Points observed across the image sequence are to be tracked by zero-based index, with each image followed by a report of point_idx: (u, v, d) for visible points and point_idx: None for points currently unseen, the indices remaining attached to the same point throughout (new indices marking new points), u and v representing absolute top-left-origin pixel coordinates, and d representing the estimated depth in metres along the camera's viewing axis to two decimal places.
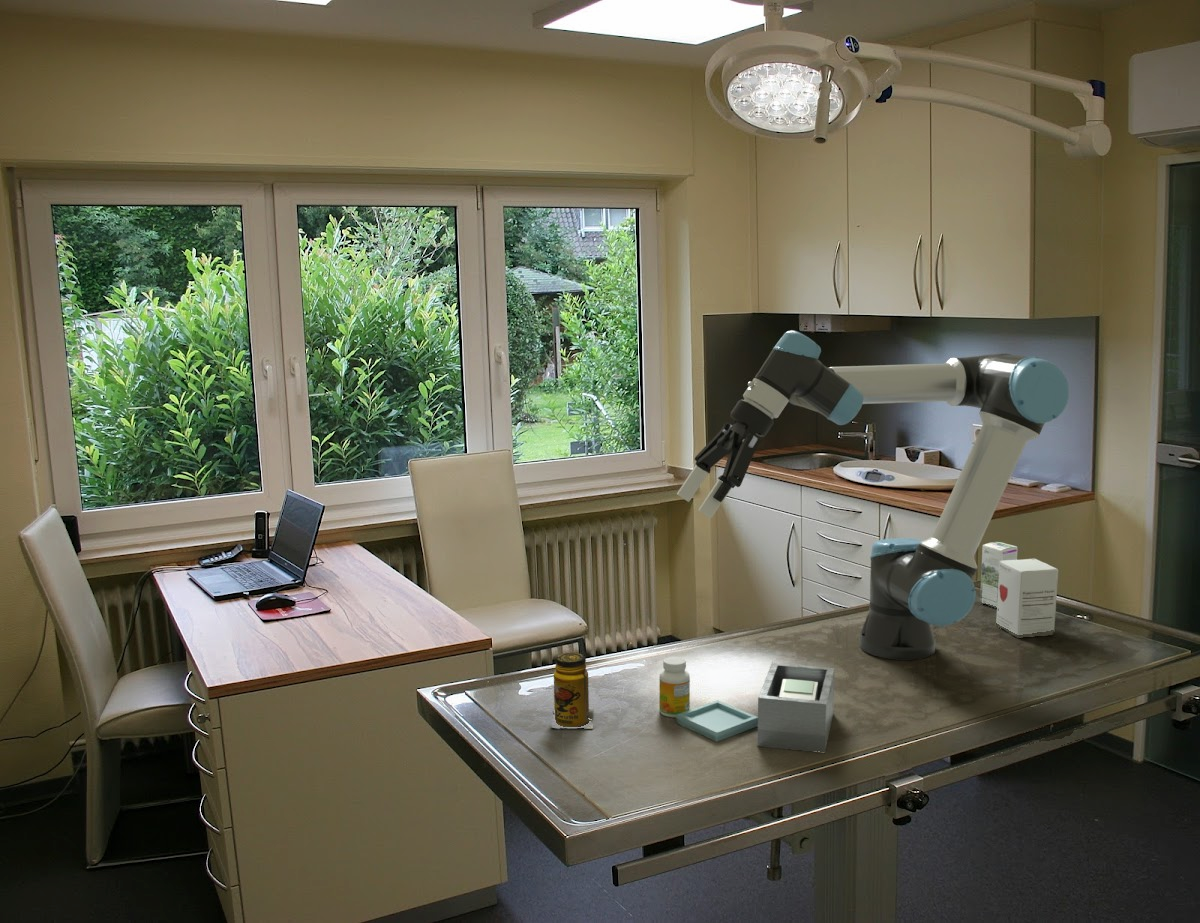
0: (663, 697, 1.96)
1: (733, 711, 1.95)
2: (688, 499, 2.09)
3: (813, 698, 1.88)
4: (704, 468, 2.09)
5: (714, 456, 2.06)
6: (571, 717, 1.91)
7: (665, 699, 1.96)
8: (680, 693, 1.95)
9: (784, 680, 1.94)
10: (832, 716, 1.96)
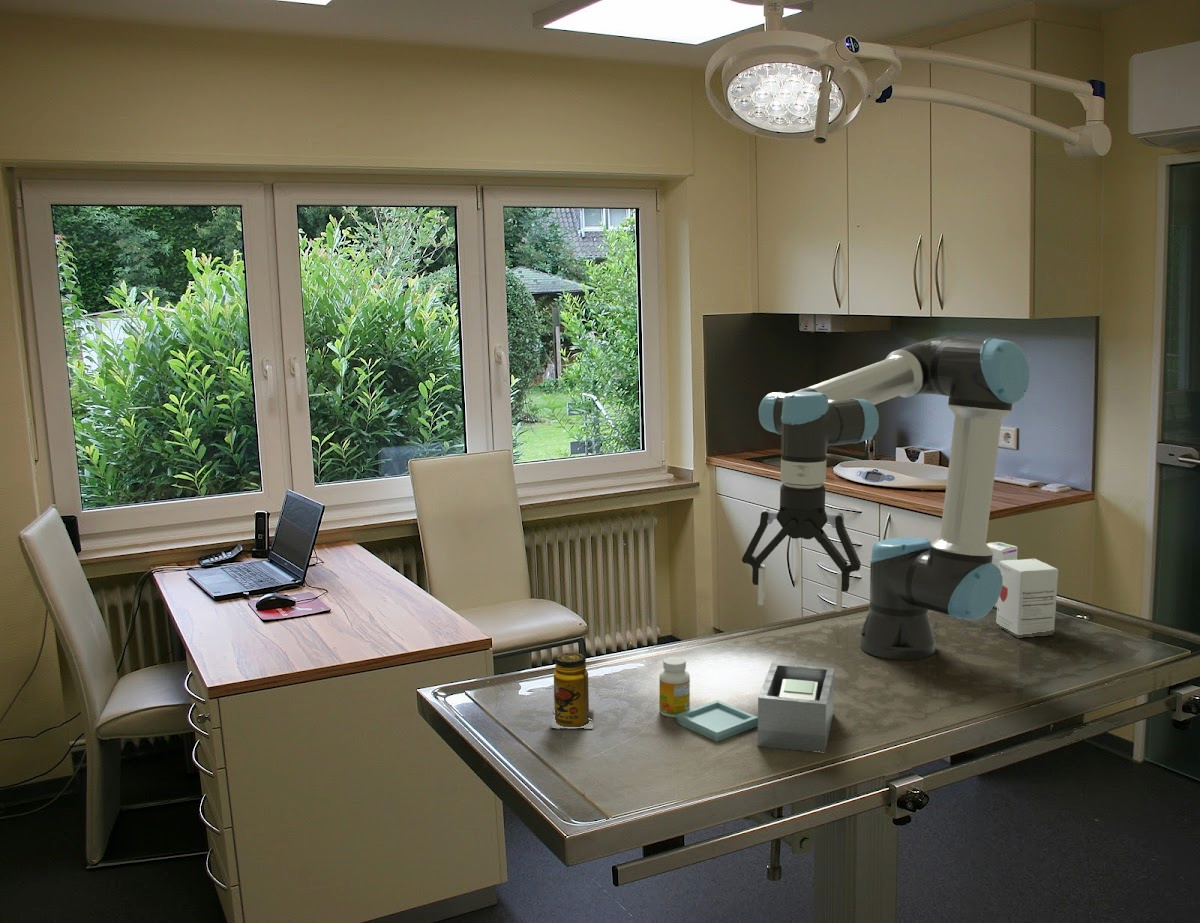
0: (663, 697, 1.96)
1: (733, 711, 1.95)
2: (764, 599, 1.93)
3: (813, 698, 1.88)
4: (760, 563, 1.92)
5: None
6: (571, 717, 1.91)
7: (665, 699, 1.96)
8: (680, 693, 1.95)
9: (784, 680, 1.94)
10: (832, 716, 1.96)
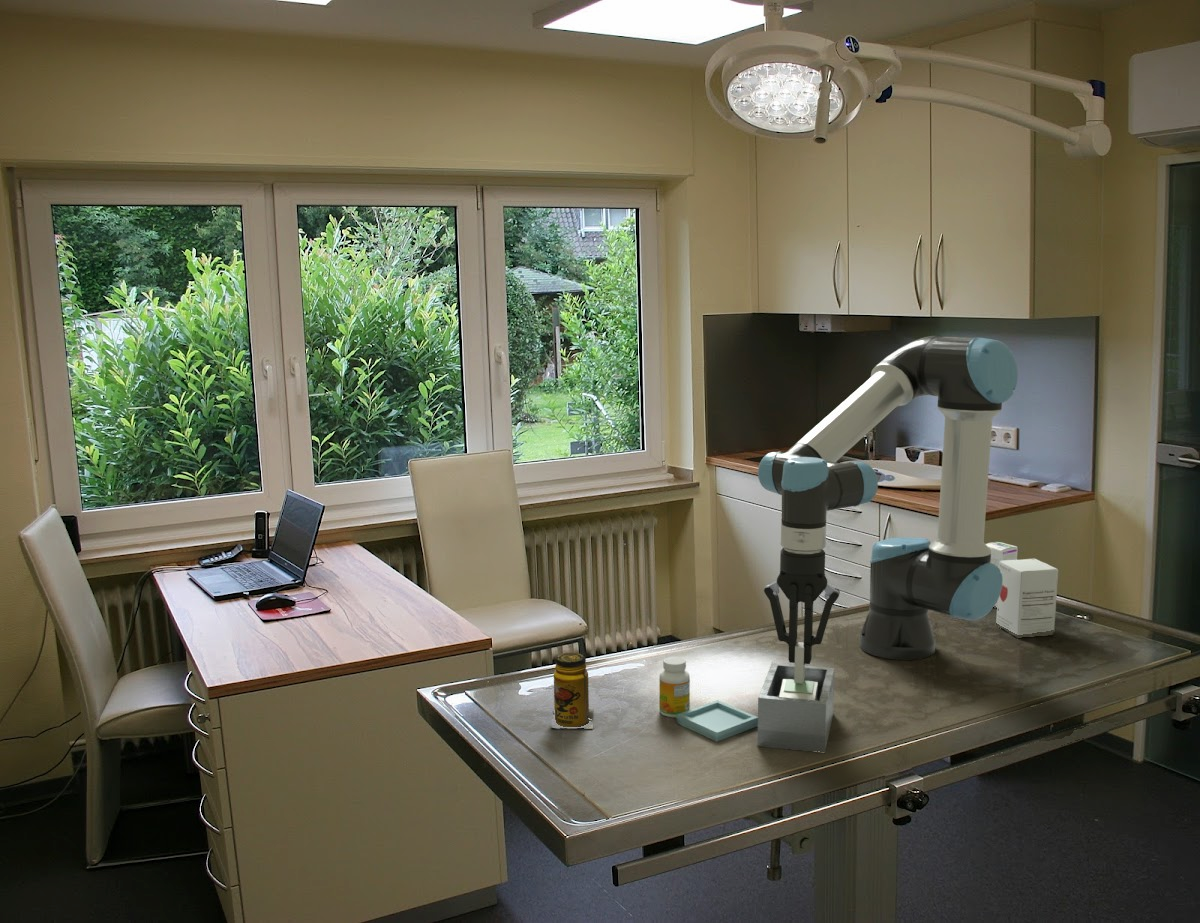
0: (663, 697, 1.96)
1: (733, 711, 1.95)
2: None
3: (813, 698, 1.88)
4: (796, 638, 1.92)
5: (796, 618, 1.91)
6: (571, 717, 1.91)
7: (665, 699, 1.96)
8: (680, 693, 1.95)
9: (784, 680, 1.94)
10: (832, 716, 1.96)
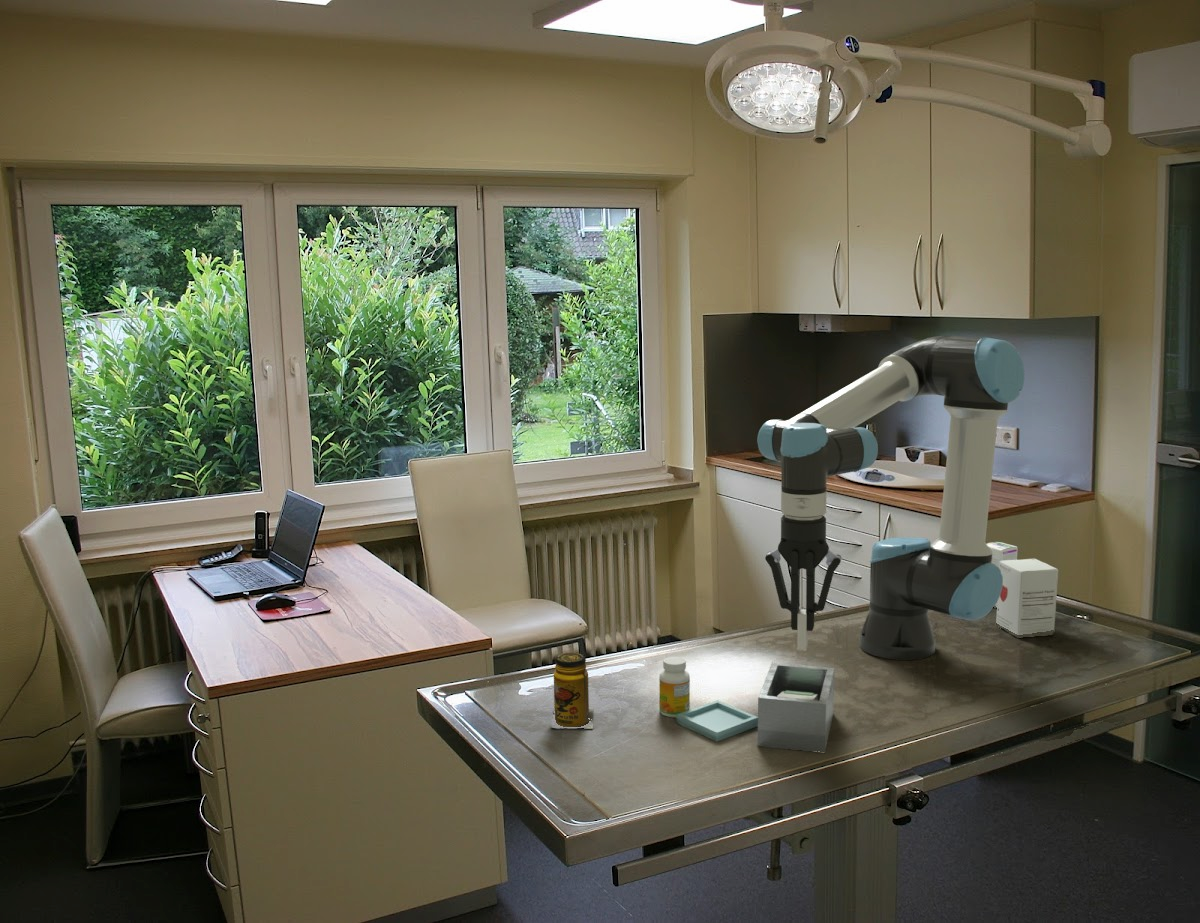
0: (663, 697, 1.96)
1: (733, 711, 1.95)
2: None
3: (813, 697, 1.89)
4: (799, 605, 1.91)
5: (798, 585, 1.90)
6: (571, 717, 1.91)
7: (665, 699, 1.96)
8: (680, 693, 1.95)
9: (784, 691, 1.95)
10: (832, 716, 1.96)
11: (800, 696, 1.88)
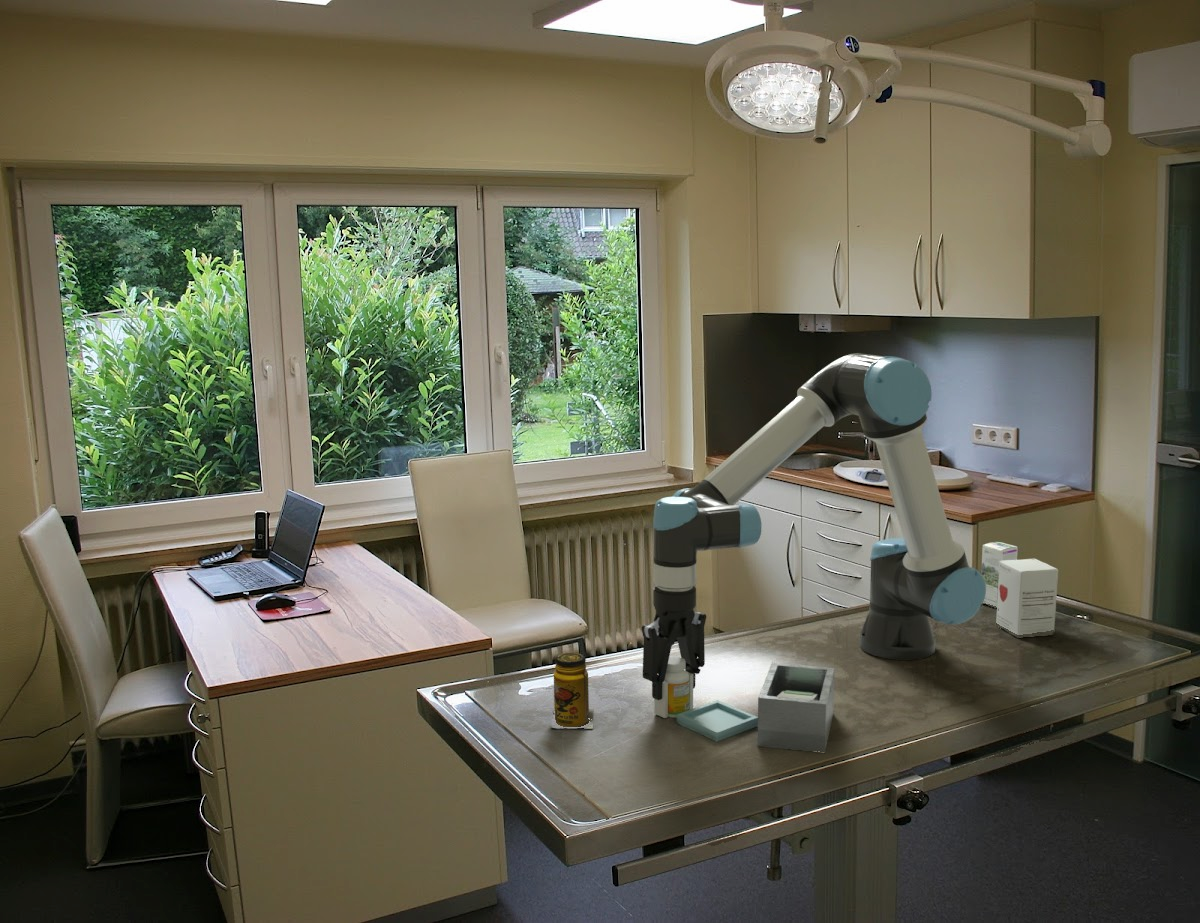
0: None
1: (733, 711, 1.95)
2: None
3: (813, 697, 1.89)
4: (689, 669, 1.99)
5: (683, 650, 1.98)
6: (571, 717, 1.91)
7: None
8: (680, 693, 1.95)
9: (784, 691, 1.95)
10: (832, 716, 1.96)
11: (800, 696, 1.88)
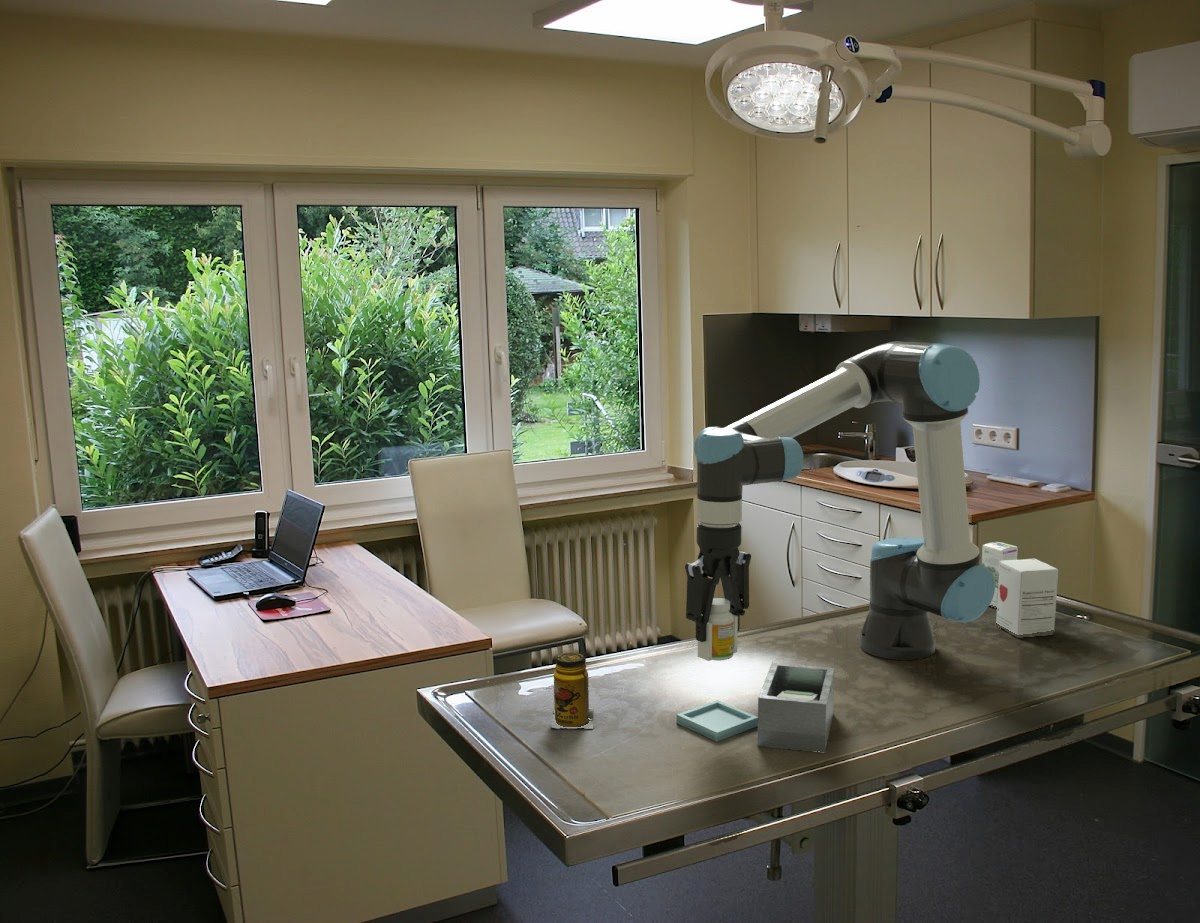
0: None
1: (733, 711, 1.95)
2: None
3: (813, 697, 1.89)
4: (733, 611, 1.91)
5: (727, 590, 1.90)
6: (571, 717, 1.91)
7: None
8: (725, 634, 1.87)
9: (784, 691, 1.95)
10: (832, 716, 1.96)
11: (800, 696, 1.88)
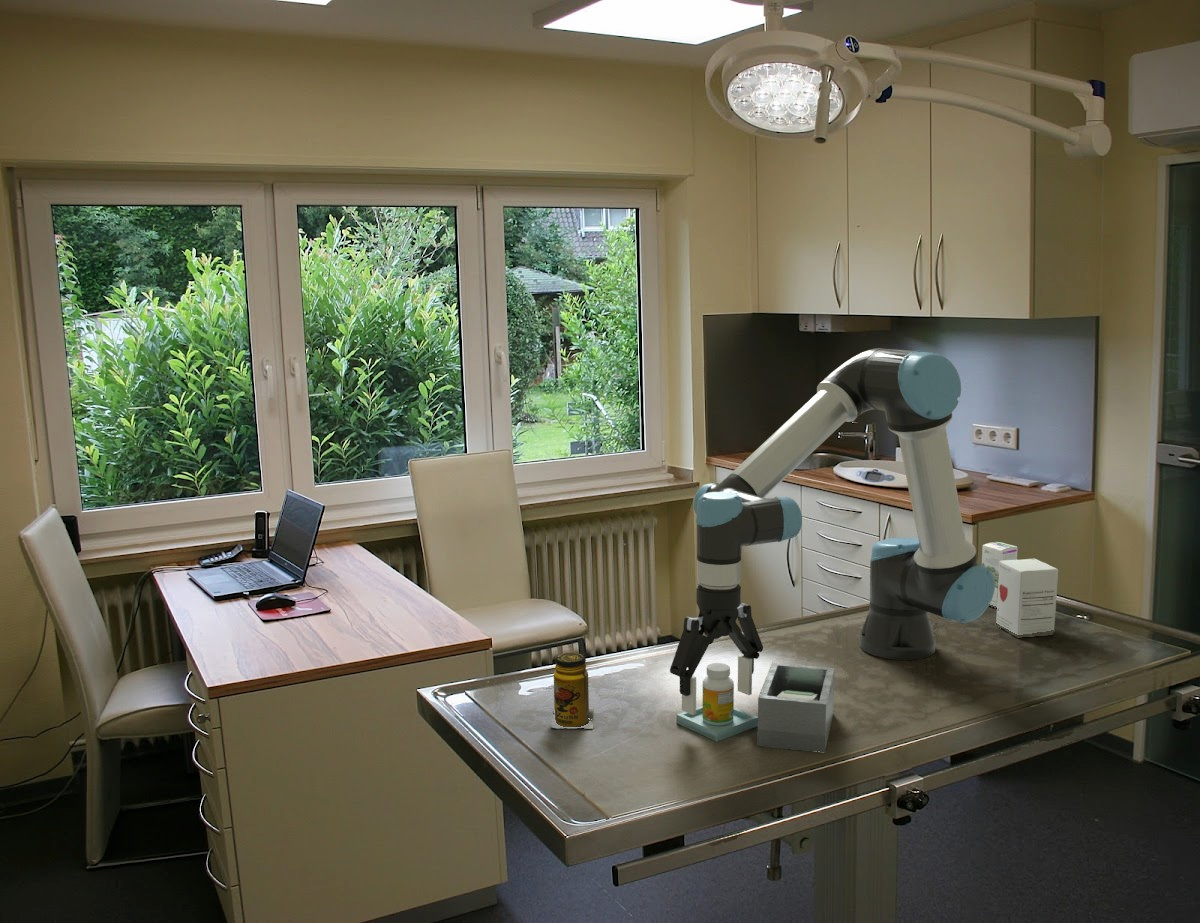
0: (707, 705, 1.90)
1: None
2: (747, 692, 1.95)
3: (813, 697, 1.89)
4: (748, 655, 1.95)
5: (736, 641, 1.93)
6: (571, 717, 1.91)
7: (708, 707, 1.90)
8: (724, 700, 1.89)
9: (784, 691, 1.95)
10: (832, 716, 1.96)
11: (800, 696, 1.88)
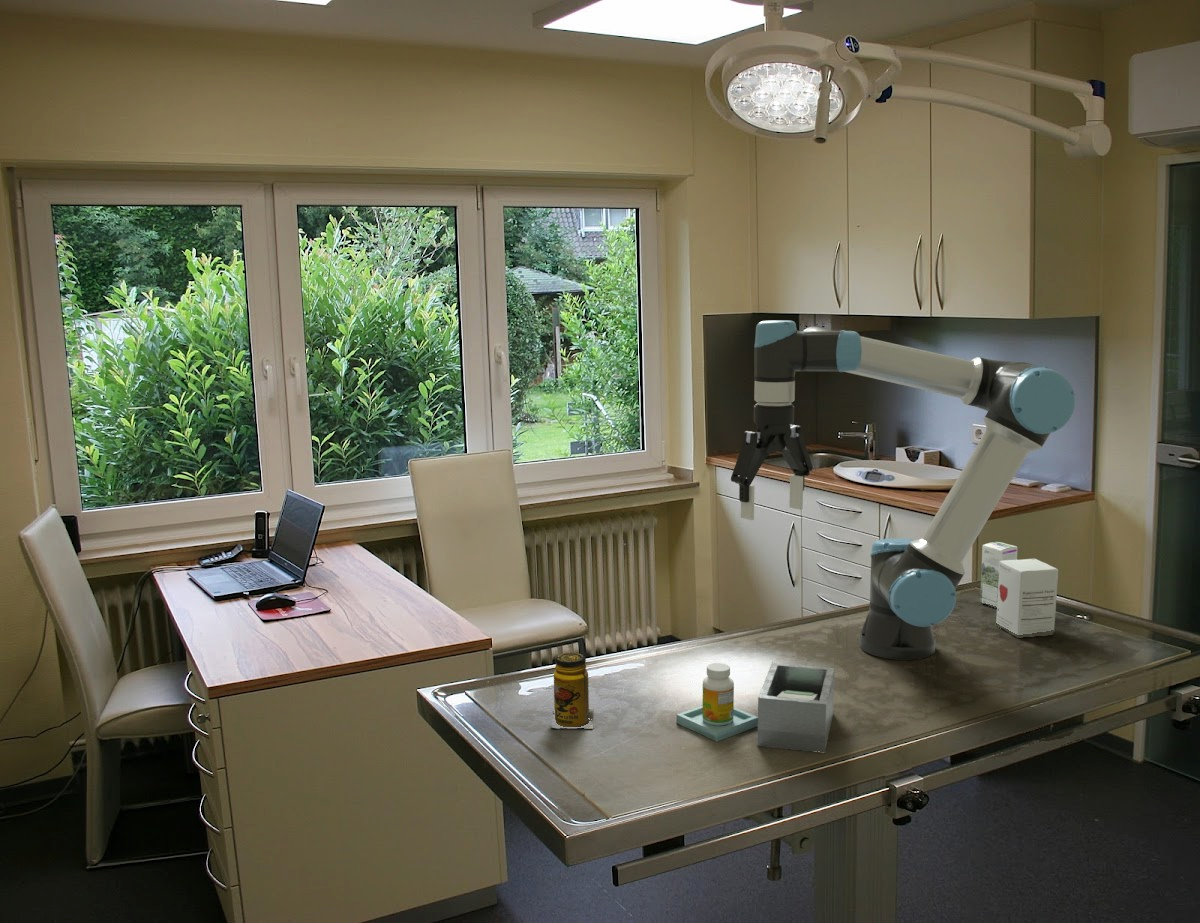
0: (707, 705, 1.90)
1: None
2: (798, 507, 2.15)
3: (813, 697, 1.89)
4: (799, 473, 2.15)
5: (789, 459, 2.14)
6: (571, 717, 1.91)
7: (708, 707, 1.90)
8: (725, 700, 1.89)
9: (784, 691, 1.95)
10: (832, 716, 1.96)
11: (800, 696, 1.88)
